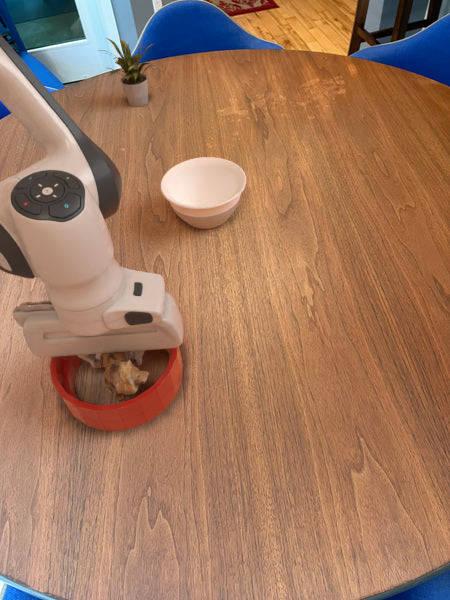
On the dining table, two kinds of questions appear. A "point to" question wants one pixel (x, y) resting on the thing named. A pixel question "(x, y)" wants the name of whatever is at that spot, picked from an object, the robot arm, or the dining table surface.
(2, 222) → the robot arm
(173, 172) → the bowl
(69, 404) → the red plastic ring
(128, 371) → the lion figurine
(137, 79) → the house plant
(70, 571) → the dining table surface
